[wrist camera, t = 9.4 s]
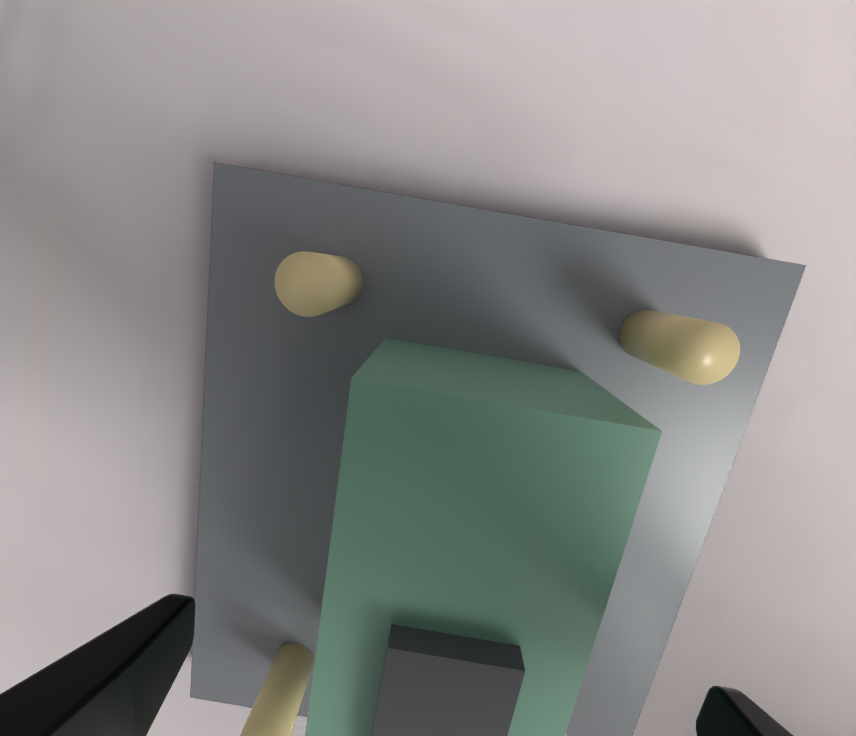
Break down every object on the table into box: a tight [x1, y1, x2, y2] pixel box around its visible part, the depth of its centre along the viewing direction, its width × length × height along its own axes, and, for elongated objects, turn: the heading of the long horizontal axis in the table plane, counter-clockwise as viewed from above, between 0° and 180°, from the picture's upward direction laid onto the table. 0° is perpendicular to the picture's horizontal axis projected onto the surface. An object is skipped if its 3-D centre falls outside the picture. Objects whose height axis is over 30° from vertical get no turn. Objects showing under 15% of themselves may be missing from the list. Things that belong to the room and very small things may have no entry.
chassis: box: [190, 162, 806, 736], centre depth 11 cm, size 14×16×4 cm
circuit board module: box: [305, 338, 662, 736], centre depth 9 cm, size 5×9×4 cm, turn 171°
